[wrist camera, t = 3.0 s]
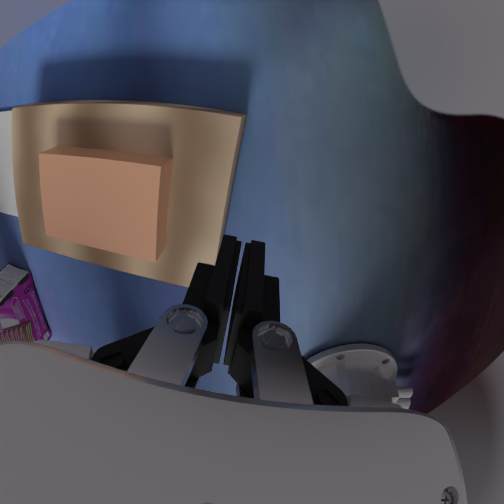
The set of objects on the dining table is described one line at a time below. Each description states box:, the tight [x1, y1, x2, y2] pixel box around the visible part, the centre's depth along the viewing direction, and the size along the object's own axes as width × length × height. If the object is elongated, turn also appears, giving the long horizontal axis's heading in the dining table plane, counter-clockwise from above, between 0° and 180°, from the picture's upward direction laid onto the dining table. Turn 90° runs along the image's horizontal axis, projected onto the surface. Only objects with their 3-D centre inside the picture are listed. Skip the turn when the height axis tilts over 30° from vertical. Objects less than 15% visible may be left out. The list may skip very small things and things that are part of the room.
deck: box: [12, 100, 247, 287], centre depth 19 cm, size 18×12×4 cm, turn 79°
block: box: [39, 146, 173, 262], centre depth 16 cm, size 9×6×2 cm, turn 79°
